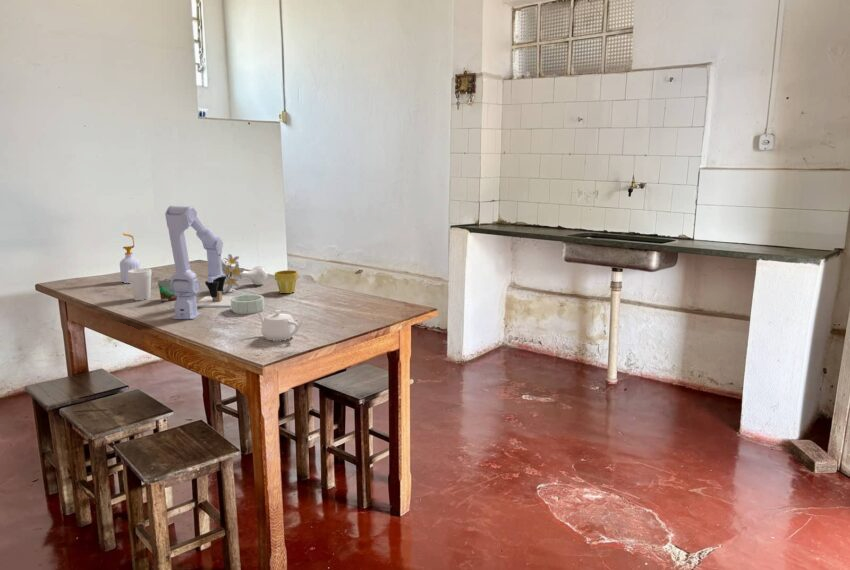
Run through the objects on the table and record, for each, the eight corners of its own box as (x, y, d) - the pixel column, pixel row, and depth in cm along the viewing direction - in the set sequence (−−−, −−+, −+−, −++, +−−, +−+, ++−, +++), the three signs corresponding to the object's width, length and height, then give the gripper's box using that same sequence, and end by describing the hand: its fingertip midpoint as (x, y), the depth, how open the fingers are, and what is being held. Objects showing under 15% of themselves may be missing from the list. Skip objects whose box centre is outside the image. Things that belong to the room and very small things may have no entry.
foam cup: (126, 299, 275) (123, 271, 273) (144, 295, 283) (141, 267, 280) (140, 302, 271) (137, 273, 268) (158, 297, 279) (155, 269, 276)
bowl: (259, 315, 251) (258, 302, 250) (227, 315, 251) (226, 301, 250) (267, 306, 264) (266, 294, 263) (237, 306, 264) (236, 294, 263)
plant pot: (274, 290, 293) (273, 270, 291) (296, 289, 296) (296, 269, 294) (276, 295, 284) (275, 275, 281) (299, 294, 287) (298, 273, 284)
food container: (172, 303, 269) (170, 281, 267) (159, 303, 270) (157, 280, 268) (188, 297, 281) (186, 275, 278) (175, 296, 282) (174, 275, 280)
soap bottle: (121, 281, 313) (116, 232, 308) (141, 279, 317) (136, 231, 312) (121, 284, 306) (116, 235, 300) (141, 282, 309) (136, 234, 304)
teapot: (245, 337, 223) (244, 310, 220) (271, 328, 233) (269, 302, 231) (286, 346, 212) (284, 318, 210) (311, 337, 222) (310, 310, 220)
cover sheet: (230, 306, 262) (229, 296, 261) (192, 306, 262) (191, 296, 261) (241, 297, 278) (240, 287, 277) (205, 297, 278) (204, 287, 277)
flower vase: (255, 296, 310) (212, 293, 290) (256, 260, 312) (213, 254, 292) (272, 295, 303) (229, 291, 282) (273, 258, 304) (231, 251, 284)
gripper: (218, 267, 260) (220, 299, 263) (229, 261, 274) (231, 291, 277) (201, 267, 260) (204, 299, 263) (213, 261, 274) (215, 291, 277)
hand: (217, 295), depth 270 cm, fingers open, 7 cm apart
